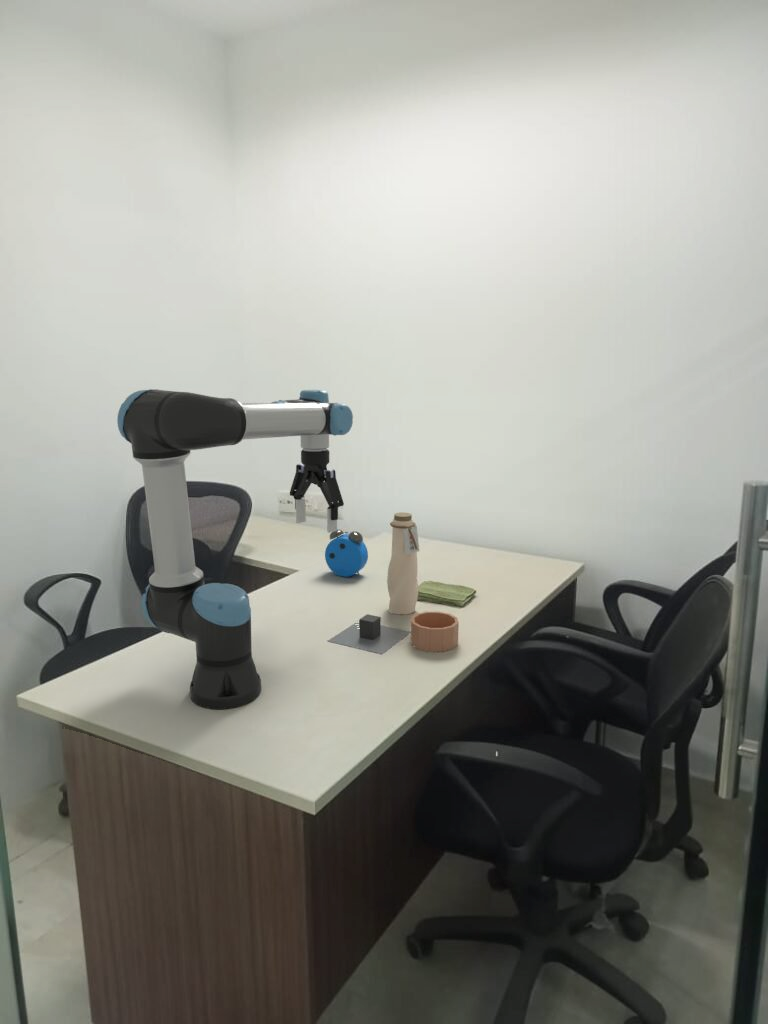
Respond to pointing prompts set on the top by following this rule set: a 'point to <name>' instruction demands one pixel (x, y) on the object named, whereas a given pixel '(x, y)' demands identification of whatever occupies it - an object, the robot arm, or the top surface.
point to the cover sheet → (368, 644)
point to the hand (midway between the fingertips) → (316, 526)
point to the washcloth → (444, 593)
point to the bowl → (434, 631)
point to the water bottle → (403, 565)
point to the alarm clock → (346, 553)
